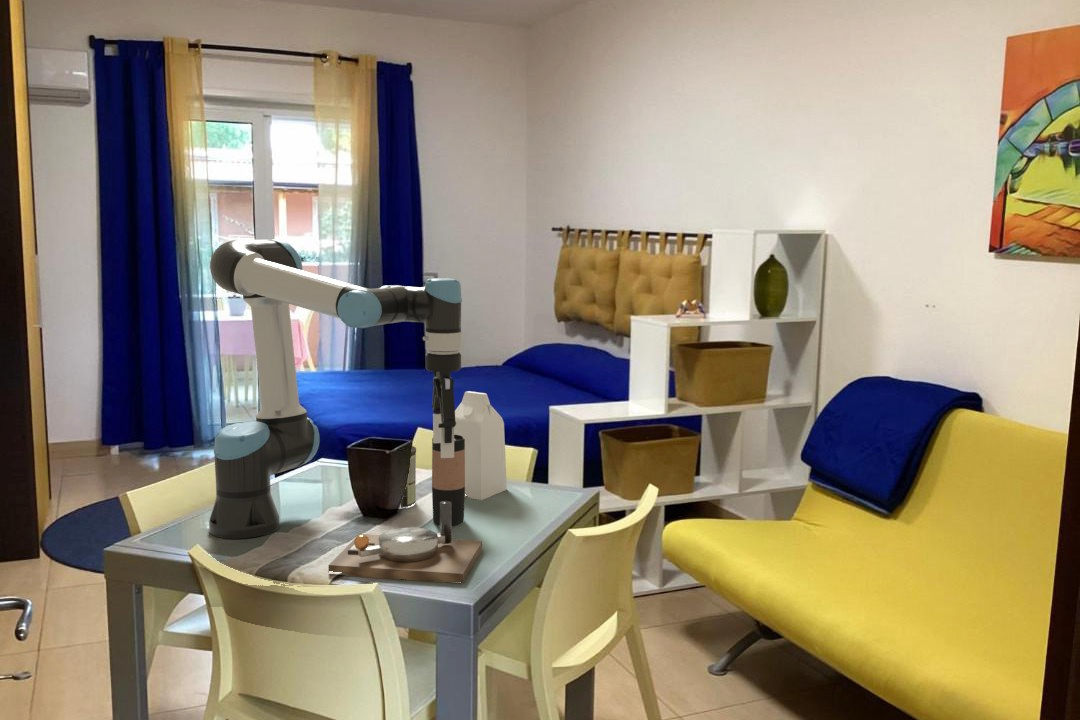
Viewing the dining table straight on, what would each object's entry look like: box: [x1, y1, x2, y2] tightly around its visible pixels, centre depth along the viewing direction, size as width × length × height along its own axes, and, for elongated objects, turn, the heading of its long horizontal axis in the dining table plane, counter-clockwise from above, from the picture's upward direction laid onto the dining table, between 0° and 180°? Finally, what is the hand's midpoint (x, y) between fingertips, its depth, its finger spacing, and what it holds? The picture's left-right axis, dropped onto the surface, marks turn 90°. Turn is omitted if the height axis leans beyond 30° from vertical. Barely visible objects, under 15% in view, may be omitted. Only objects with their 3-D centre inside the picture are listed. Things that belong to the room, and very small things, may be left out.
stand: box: [327, 533, 483, 584], centre depth 191 cm, size 27×19×3 cm
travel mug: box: [431, 435, 466, 527], centre depth 216 cm, size 8×8×20 cm
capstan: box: [354, 501, 452, 562], centre depth 190 cm, size 21×12×9 cm, turn 122°
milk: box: [454, 390, 508, 501], centre depth 241 cm, size 12×12×26 cm
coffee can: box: [401, 445, 417, 508], centre depth 229 cm, size 10×10×14 cm
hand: (443, 450), depth 200 cm, fingers open, 13 cm apart
